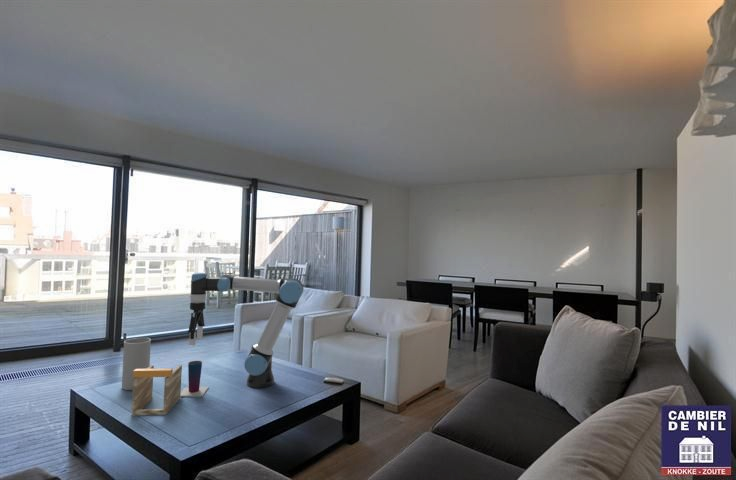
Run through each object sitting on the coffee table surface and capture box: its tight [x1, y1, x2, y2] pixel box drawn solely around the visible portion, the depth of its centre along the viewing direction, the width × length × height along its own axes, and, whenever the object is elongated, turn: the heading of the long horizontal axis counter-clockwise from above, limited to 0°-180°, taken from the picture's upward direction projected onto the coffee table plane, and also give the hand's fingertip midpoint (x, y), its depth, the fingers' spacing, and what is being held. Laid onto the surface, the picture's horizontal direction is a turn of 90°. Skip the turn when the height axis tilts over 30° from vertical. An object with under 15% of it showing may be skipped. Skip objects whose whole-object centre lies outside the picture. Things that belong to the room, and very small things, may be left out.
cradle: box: [131, 364, 183, 416], centre depth 184 cm, size 15×19×17 cm
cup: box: [187, 360, 203, 393], centre depth 202 cm, size 7×7×15 cm
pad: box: [180, 386, 209, 398], centre depth 202 cm, size 12×12×1 cm
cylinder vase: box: [121, 337, 152, 391], centre depth 207 cm, size 12×12×25 cm
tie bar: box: [133, 367, 174, 378], centre depth 177 cm, size 16×3×3 cm, turn 99°
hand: (196, 341), depth 202 cm, fingers open, 13 cm apart
